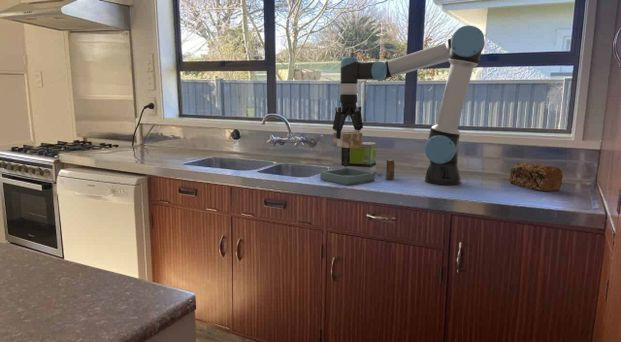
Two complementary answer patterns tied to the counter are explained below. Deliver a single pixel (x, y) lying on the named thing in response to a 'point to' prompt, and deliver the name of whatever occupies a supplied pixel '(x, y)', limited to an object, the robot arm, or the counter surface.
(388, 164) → the post
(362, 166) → the tea box
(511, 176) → the bread
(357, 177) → the tray
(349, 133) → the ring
